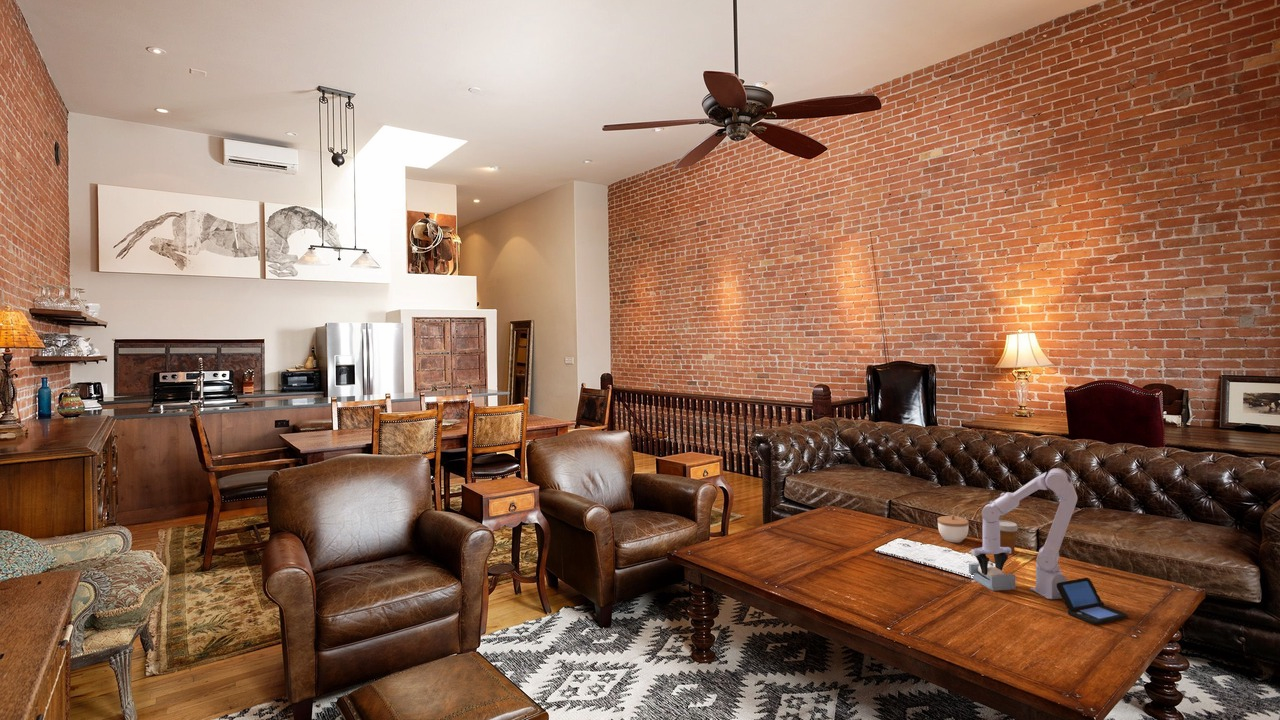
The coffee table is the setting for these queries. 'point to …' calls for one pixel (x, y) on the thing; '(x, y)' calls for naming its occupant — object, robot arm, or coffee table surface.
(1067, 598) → the game console
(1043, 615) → the coffee table surface
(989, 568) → the roll
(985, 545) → the robot arm
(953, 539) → the lidded bowl
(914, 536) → the coffee table surface
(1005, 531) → the disposable coffee cup
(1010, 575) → the holder
